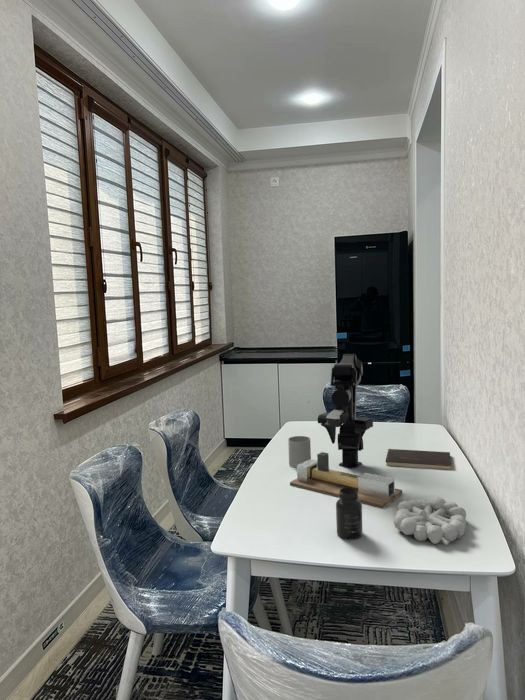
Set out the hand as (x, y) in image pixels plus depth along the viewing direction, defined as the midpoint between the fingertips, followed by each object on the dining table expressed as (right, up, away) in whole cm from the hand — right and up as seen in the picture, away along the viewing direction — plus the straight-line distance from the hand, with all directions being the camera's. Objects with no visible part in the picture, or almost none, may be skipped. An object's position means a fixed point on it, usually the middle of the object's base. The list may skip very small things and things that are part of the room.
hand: (345, 445), depth 174 cm
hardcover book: (+31, -10, +18) cm, 37 cm away
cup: (-14, -11, +18) cm, 25 cm away
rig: (-1, -12, -8) cm, 14 cm away
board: (-1, -13, -7) cm, 15 cm away
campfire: (+17, -16, -37) cm, 43 cm away
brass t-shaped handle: (-4, -11, -6) cm, 13 cm away
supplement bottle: (-5, -17, -39) cm, 43 cm away
